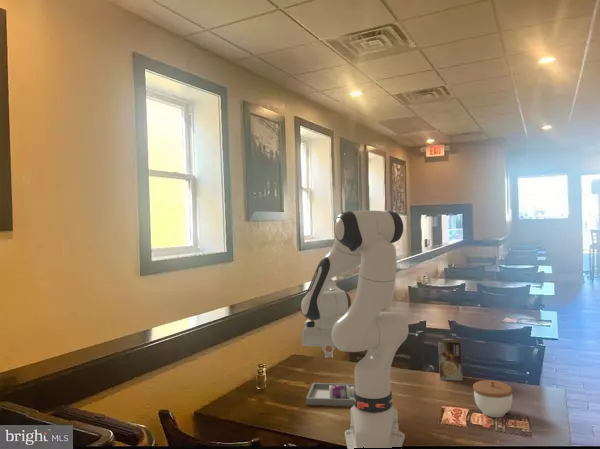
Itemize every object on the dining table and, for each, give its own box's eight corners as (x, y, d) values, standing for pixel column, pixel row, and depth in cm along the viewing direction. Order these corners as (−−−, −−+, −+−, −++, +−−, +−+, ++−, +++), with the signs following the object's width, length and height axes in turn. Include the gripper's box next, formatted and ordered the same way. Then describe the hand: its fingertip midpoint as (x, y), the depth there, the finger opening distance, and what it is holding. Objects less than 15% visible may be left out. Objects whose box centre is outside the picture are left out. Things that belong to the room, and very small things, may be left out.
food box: (461, 376, 197) (460, 338, 196) (462, 381, 191) (461, 342, 190) (439, 374, 199) (438, 337, 199) (439, 379, 193) (438, 341, 193)
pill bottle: (328, 383, 179) (353, 383, 179) (329, 398, 178) (354, 397, 178) (329, 387, 174) (354, 386, 173) (329, 401, 173) (355, 401, 173)
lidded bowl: (466, 409, 164) (465, 378, 164) (494, 402, 168) (493, 372, 168) (492, 423, 152) (491, 390, 152) (522, 416, 156) (520, 384, 156)
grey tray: (362, 407, 169) (362, 400, 169) (306, 404, 173) (305, 398, 173) (364, 390, 185) (364, 384, 185) (313, 388, 189) (312, 382, 189)
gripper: (354, 319, 180) (356, 354, 180) (303, 320, 184) (304, 354, 184) (353, 322, 174) (355, 359, 174) (300, 323, 178) (301, 359, 178)
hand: (329, 357), depth 179 cm, fingers closed
